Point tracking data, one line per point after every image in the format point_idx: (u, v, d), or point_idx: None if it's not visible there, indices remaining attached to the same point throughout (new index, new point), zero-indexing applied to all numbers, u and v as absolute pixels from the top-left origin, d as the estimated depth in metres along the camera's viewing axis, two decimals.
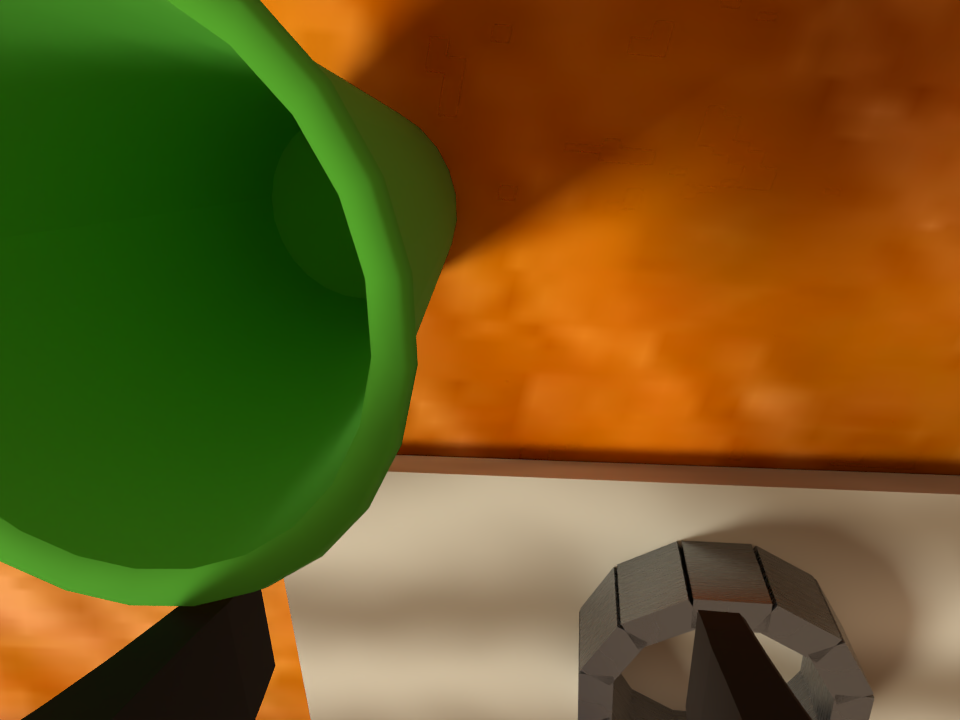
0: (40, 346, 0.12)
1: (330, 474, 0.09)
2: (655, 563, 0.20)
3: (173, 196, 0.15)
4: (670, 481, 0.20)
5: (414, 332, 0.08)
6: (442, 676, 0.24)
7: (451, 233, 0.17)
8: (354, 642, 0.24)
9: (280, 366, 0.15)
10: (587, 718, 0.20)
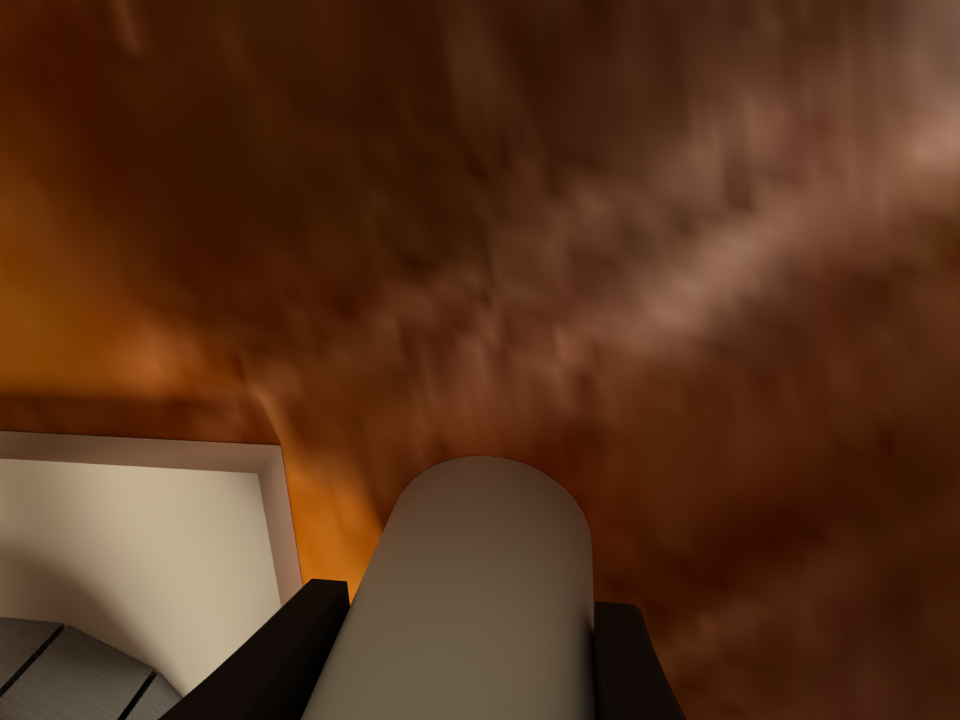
0: None
1: None
2: None
3: None
4: None
5: None
6: None
7: None
8: None
9: None
10: None
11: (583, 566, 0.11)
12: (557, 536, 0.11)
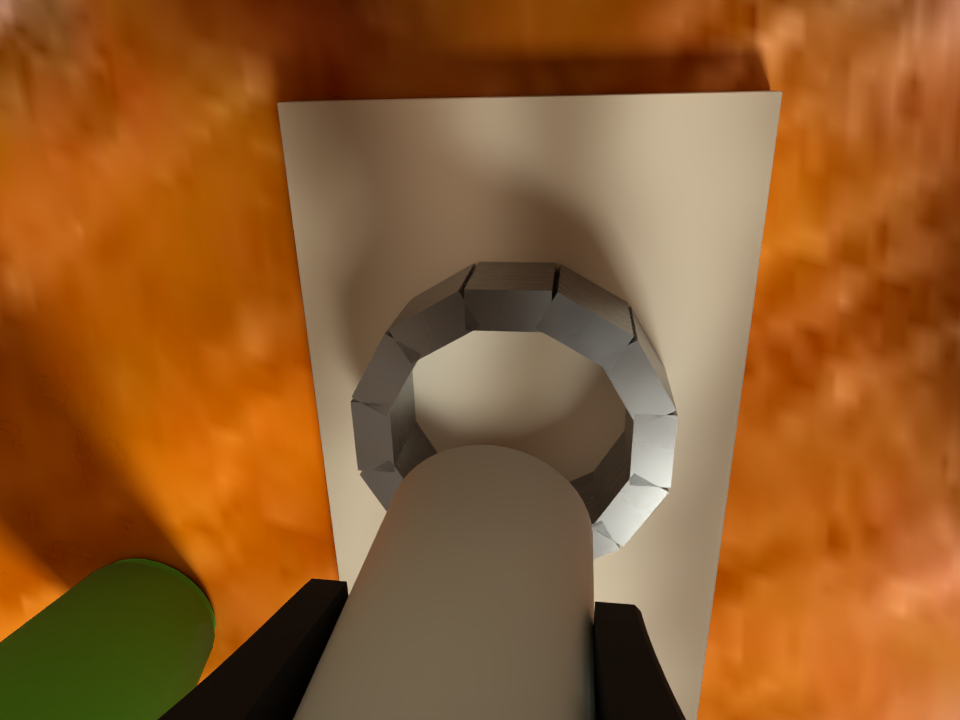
0: None
1: None
2: None
3: None
4: (321, 434, 0.21)
5: None
6: None
7: (114, 586, 0.23)
8: None
9: None
10: None
11: (586, 560, 0.11)
12: (562, 529, 0.11)
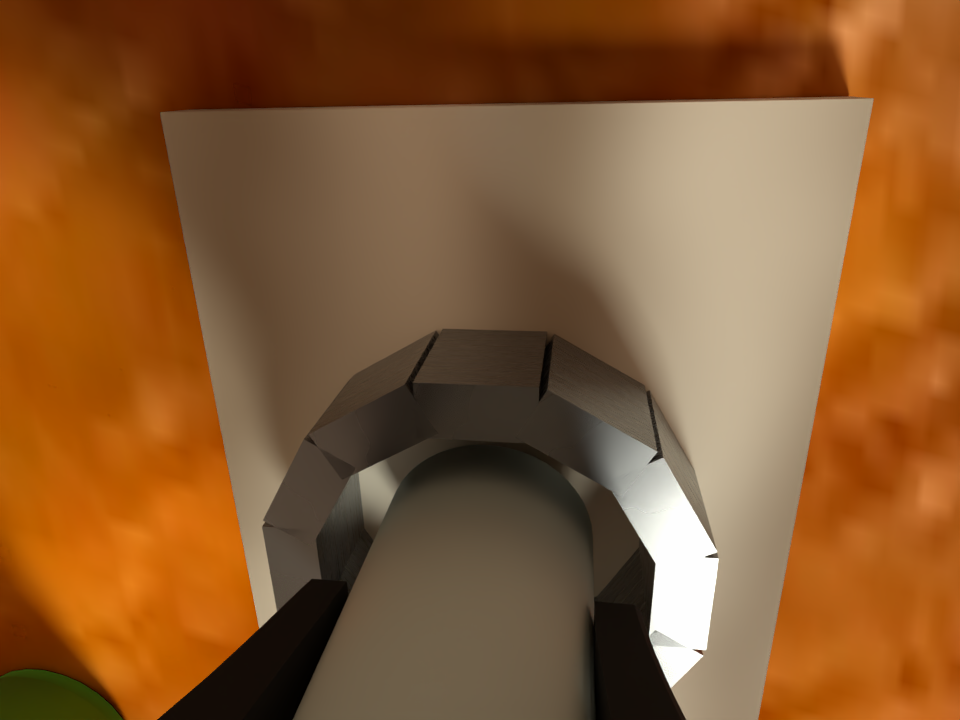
0: None
1: None
2: None
3: None
4: (243, 540, 0.16)
5: None
6: None
7: None
8: None
9: None
10: None
11: (586, 560, 0.11)
12: (562, 529, 0.11)
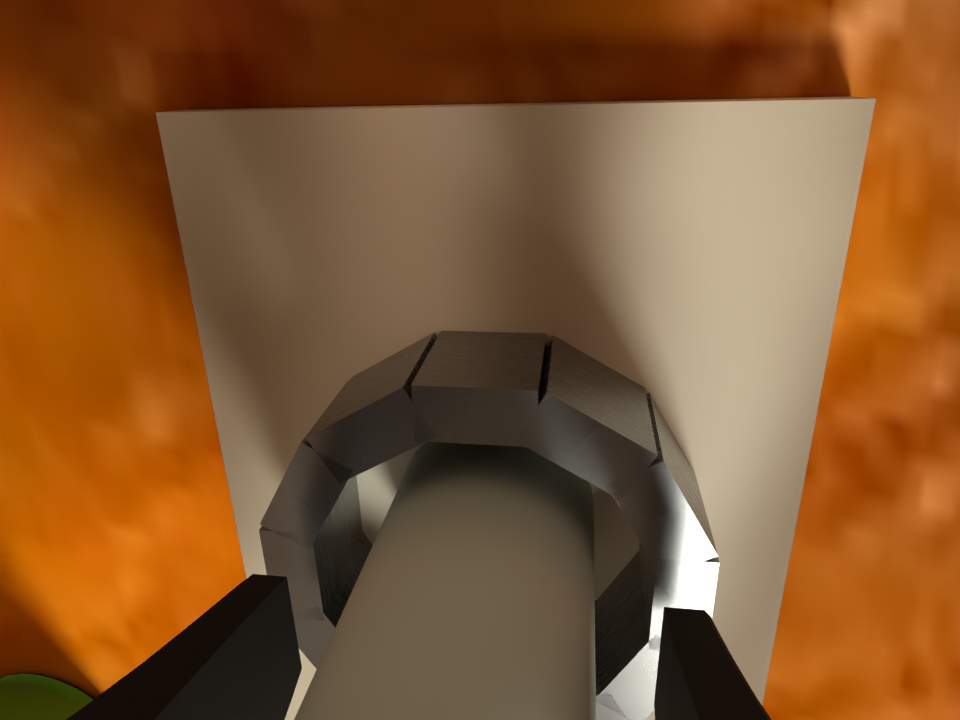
0: None
1: None
2: None
3: None
4: (241, 543, 0.16)
5: None
6: None
7: None
8: None
9: None
10: None
11: (586, 521, 0.12)
12: (565, 492, 0.12)
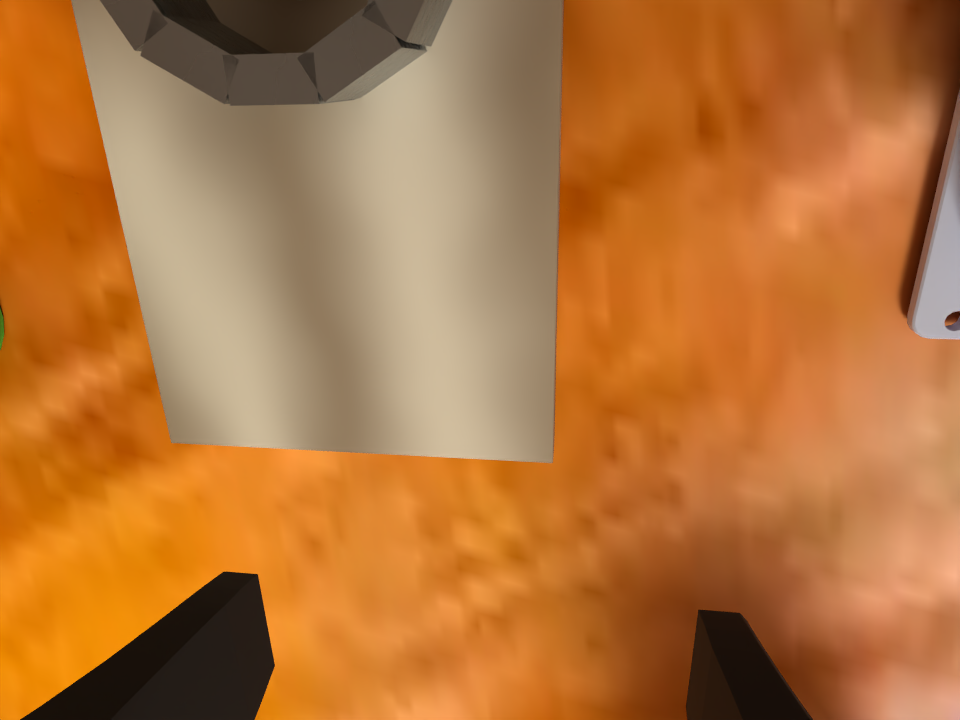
0: None
1: None
2: None
3: None
4: None
5: None
6: (420, 286, 0.18)
7: None
8: (383, 387, 0.20)
9: None
10: (307, 89, 0.14)
11: None
12: None
